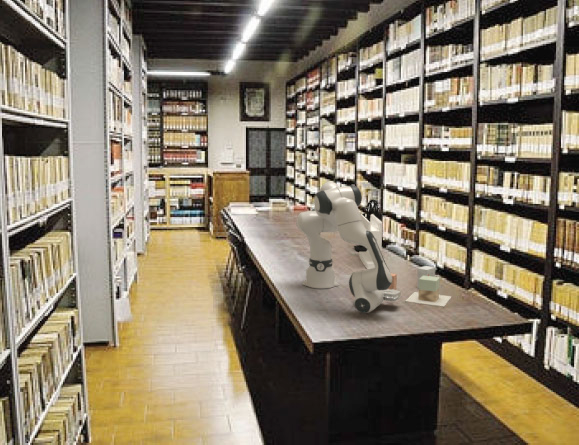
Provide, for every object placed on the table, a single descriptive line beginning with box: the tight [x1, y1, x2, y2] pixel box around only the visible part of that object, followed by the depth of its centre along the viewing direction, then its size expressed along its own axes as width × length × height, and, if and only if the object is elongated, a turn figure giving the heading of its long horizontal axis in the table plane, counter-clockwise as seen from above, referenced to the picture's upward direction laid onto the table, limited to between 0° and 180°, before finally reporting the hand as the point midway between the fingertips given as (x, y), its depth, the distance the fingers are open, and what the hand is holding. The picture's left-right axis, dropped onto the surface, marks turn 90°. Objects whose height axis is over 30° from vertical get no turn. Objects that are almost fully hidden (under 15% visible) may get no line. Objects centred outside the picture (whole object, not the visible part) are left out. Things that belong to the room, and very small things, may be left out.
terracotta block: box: [388, 273, 398, 290], centre depth 272 cm, size 5×5×10 cm
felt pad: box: [404, 291, 452, 308], centre depth 265 cm, size 18×18×1 cm
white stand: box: [358, 213, 383, 270], centre depth 341 cm, size 35×8×28 cm, turn 0°
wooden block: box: [418, 288, 440, 302], centre depth 264 cm, size 8×8×5 cm
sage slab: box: [418, 276, 441, 292], centre depth 264 cm, size 8×8×5 cm
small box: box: [416, 265, 436, 289], centre depth 285 cm, size 8×6×10 cm
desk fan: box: [353, 199, 383, 252], centre depth 381 cm, size 27×18×35 cm, turn 1°
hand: (382, 289), depth 262 cm, fingers open, 8 cm apart
